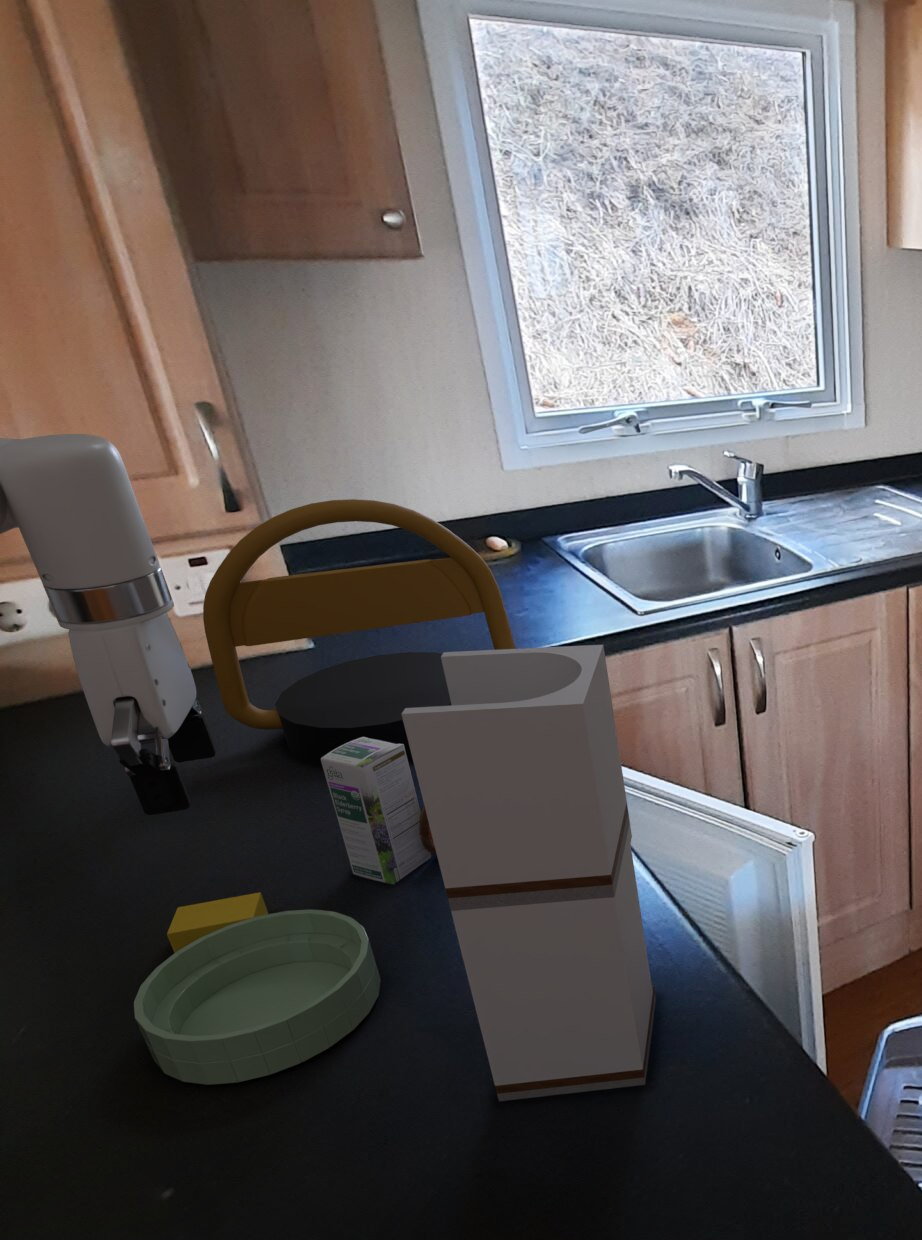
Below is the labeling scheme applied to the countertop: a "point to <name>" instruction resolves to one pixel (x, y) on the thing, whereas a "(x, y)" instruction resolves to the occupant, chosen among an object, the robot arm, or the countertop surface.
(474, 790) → the striped white pedestal
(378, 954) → the countertop surface
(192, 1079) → the bowl
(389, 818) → the syrup box
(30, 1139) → the countertop surface
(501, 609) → the chair
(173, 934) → the sponge
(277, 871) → the countertop surface
